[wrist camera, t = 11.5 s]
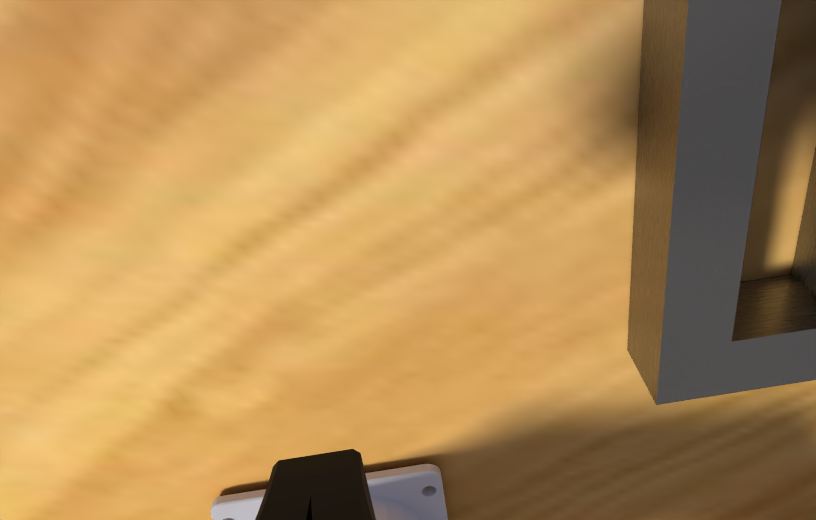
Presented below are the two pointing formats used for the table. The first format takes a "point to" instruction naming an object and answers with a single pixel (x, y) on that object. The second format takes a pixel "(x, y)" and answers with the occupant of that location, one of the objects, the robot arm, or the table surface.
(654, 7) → the rack
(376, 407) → the table surface
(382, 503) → the robot arm
